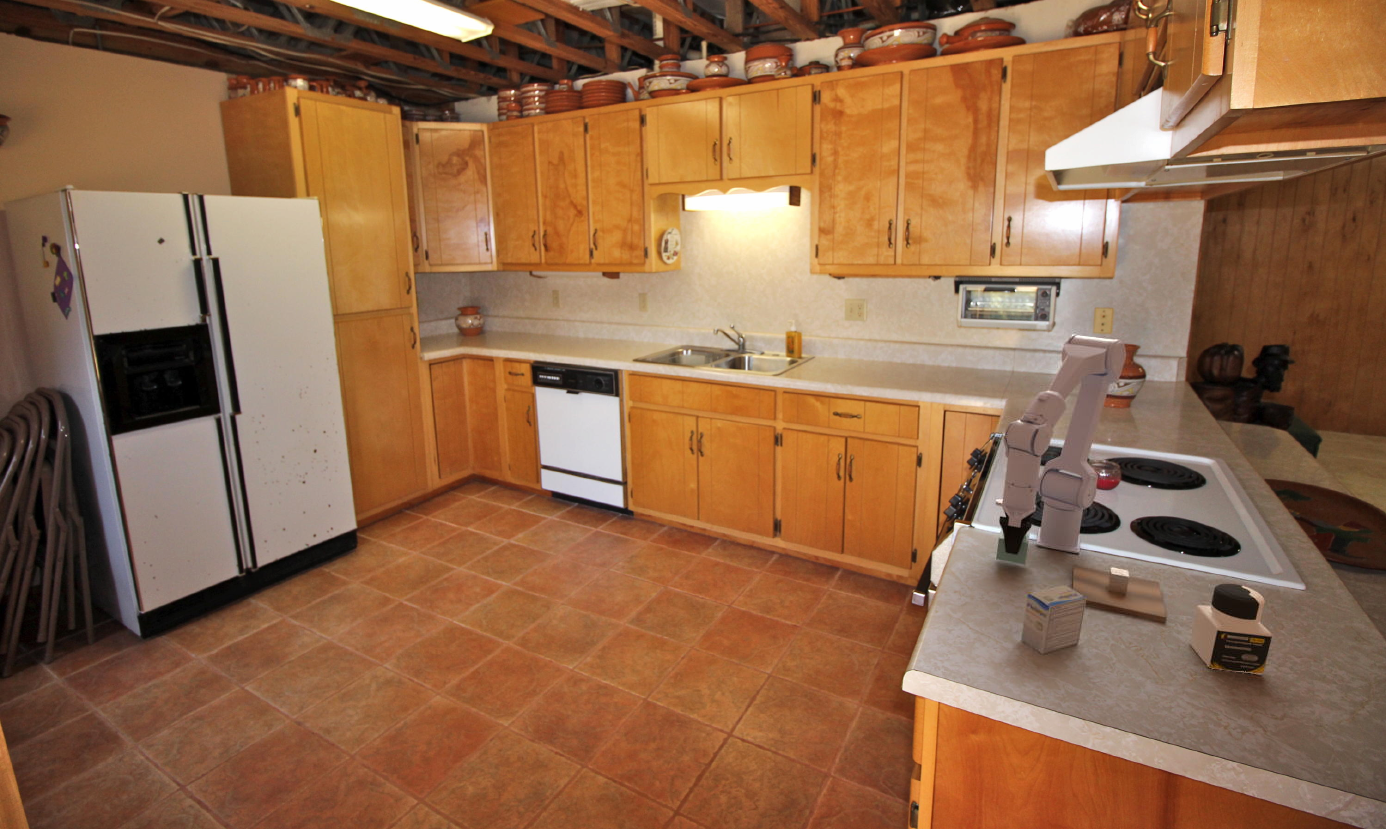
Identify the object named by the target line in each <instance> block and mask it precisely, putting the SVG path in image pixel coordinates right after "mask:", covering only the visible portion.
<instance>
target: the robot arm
mask: <svg viewBox="0 0 1386 829" xmlns="http://www.w3.org/2000/svg"><path fill="white" fill-rule="evenodd" d="M1126 359H1127V352H1126V346H1125V343H1124V342H1123V340H1122V339H1110V338H1103V337H1102V338H1100V337H1095V336H1085V335H1079V334H1071V335H1070V336H1068V338H1067V339H1066V340H1065V342H1064V344H1063V346H1062V351H1061V362H1062V363H1061V365H1060V367H1059V369H1058V370H1057V373H1056V374H1055V376H1054V378H1053V379H1052V381H1051V383H1050V385H1049V387H1048V388H1047V390H1045V391H1040V392H1038V393H1037V394H1036V395H1035V397H1034V398H1033V400H1032V401H1031V403H1030V404H1029V406H1028V407H1027V408H1026V410H1025V411H1024V412H1023V414H1022V416H1021V417H1020V418H1019V419H1017V420H1015V421H1012V422H1010V423H1009V424H1008V426H1007V427H1006V429H1005V432H1004V435H1003V438H1002V440H1003V445H1004V448H1005V452H1004V455H1005V457H1006V458H1007V462H1006V469H1005V480H1004V487H1003V495H1002V499H1001V498H997V499H996V500H995V505H996V506H998V507H1001V508H1002V510H1003V512H1004V515H1005V516H1001V515H1000V516H999V519H998V522H999V526H1000V528H1002V530H1003V534H1004V543H1005V551H1006V553H1010V554H1015V555H1017V554H1018V552H1019V550H1020V547H1021V544H1022V541H1023V539H1024V536H1025V535H1026V533H1029V531H1030V530H1031V528H1032V525H1033V524H1032V523H1031V522H1029V521H1030V519H1031V518H1032V516H1033V515H1034V513H1035V511H1036V508H1037V505H1036V499H1037V493H1038V495H1039V496H1040V497H1041V502H1043V504H1044V505H1043V510H1042V519H1041V524H1040V527H1039V528H1038V533H1037V536H1036V546H1037V547H1041V548H1042V547H1044V548H1049V549H1053V550H1057V551H1062V552H1063V551H1064V552H1068V553H1072V554H1073V553H1074V554H1080V551H1081V550H1080V547H1081V542H1080V539H1081V536H1080V530H1081V524H1082V518H1083V512H1084V511H1083V510H1086V509H1087V508H1088V507H1091V505H1092V504H1093V502H1094V500H1095V498H1096V495H1097V485H1098V477H1099V475H1098V473H1097V472H1095V469H1093V468H1092V466H1091V465H1090V463H1088V459H1089V456H1090V452H1091V449H1092V446H1093V442H1094V439H1095V435H1096V433H1097V428H1098V426H1099V422H1100V419H1101V415H1102V413H1103V412H1102V411H1103V409H1104V405H1105V401H1106V399H1107V394H1108V391H1109V388H1110V385H1112V384H1114V383H1118V382H1119V380H1120V377H1121V374H1122V370H1123V369H1124V364H1125V361H1126ZM1079 384H1080V386H1079ZM1077 386H1079V387H1080V388H1079V390H1078V394H1077V398H1076V400H1075V401H1076V402H1075V405H1074V408H1073V410H1072V411H1073V412H1072V416H1071V418H1070V421H1069V425H1068V428H1067V431H1066V435H1065V438H1064V443H1063V445H1062V448H1061V449H1062V450H1061V453H1060V455H1059V456H1058V457H1056V458H1053V459H1050V460H1049V461H1046V462H1045V464H1044V467H1043V470H1042V471H1041V473H1040V468H1041V463H1042V456H1043V455H1044V454H1045V453H1046V451H1047V450H1048V449H1049V446H1050V444H1051V440H1052V437H1053V436H1054V428H1055V426H1056V425H1057V423H1058V422H1059V420H1060V419H1061V417H1062V416H1063V415H1064V414H1065V411H1066V410H1067V403H1066V399H1068V397H1069V396H1070V395H1071V393H1072V392H1073V391H1074V390H1075V389H1076V388H1077ZM1067 472H1068V473H1067ZM1070 473H1072V474H1070ZM1074 474H1075V475H1074ZM1076 475H1078V476H1076Z"/></svg>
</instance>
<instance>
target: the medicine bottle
mask: <svg viewBox="0 0 1386 829" xmlns="http://www.w3.org/2000/svg"><path fill="white" fill-rule="evenodd" d="M1265 600H1266V599H1265V598H1264V597H1263V596H1262V594H1261V593H1259V592H1258V591H1256V590H1255V589H1253V588H1249V587H1248V586H1245V585H1241V584H1236V583H1220V584H1218V585H1216V586H1215V587H1214V590H1213V594H1212V598H1211V601H1210V602H1211V604H1210V605H1202V604H1198V605H1197V606H1196V608H1195V609H1196V611H1195V615H1194V619H1193V623H1192V628H1191V633H1190V639H1189V645H1190V646H1191V647H1192V649H1193V650H1194V651H1195V652H1196V654H1197V653H1198V654H1197V655H1198V656H1199V658H1200V659H1201V660H1202V661H1203V663H1204V662H1205V663H1206V664H1207V665H1206V664H1205V663H1204V664H1205V665H1206V666H1207V667H1209V668H1212V669H1211V670H1213V669H1222V670H1230V671H1244V672H1245V671H1246V672H1253V673H1263V674H1264V670H1265V666H1266V662H1267V658H1268V655H1269V650H1270V647H1271V643H1272V639H1273V634H1272V633H1271V631H1269V630H1268V629H1267V628H1266V627H1265V625H1263V623H1261V618H1262V614H1263V610H1264V605H1265V602H1266V601H1265ZM1209 668H1208V669H1209Z"/></svg>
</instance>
